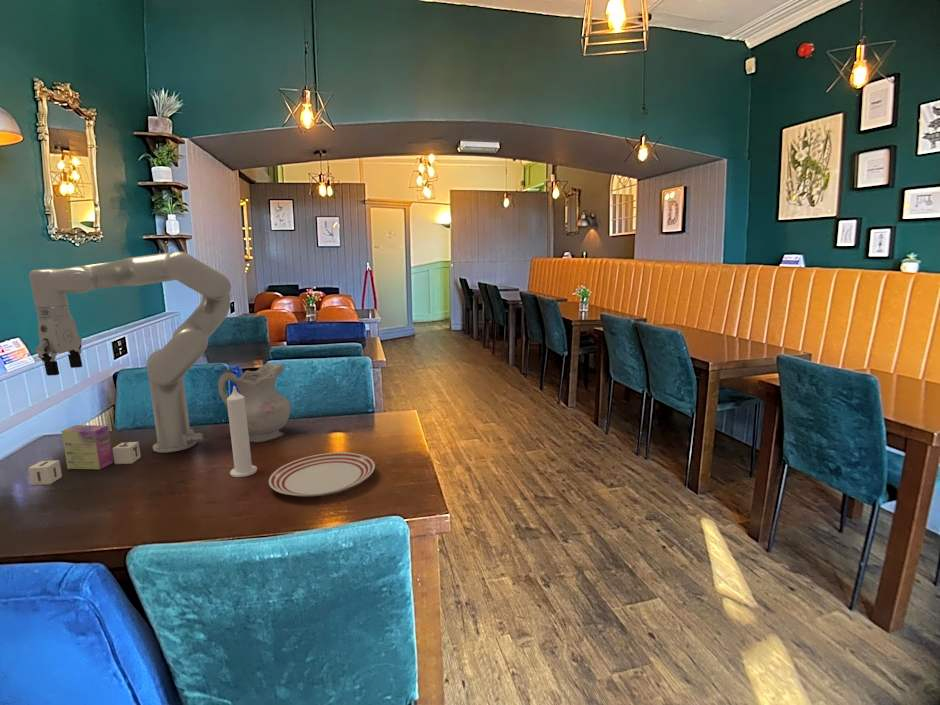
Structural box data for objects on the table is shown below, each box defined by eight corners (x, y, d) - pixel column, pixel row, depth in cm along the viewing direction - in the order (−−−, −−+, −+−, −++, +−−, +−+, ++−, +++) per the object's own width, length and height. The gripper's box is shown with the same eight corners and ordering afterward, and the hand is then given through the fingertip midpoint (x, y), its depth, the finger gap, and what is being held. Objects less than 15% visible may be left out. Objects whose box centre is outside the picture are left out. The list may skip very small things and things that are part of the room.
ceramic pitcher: (248, 455, 172) (244, 378, 166) (210, 441, 182) (205, 367, 176) (303, 435, 190) (301, 364, 184) (265, 423, 200) (262, 355, 194)
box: (114, 462, 167) (108, 424, 164) (100, 470, 161) (93, 431, 159) (82, 462, 168) (76, 424, 165) (67, 469, 162) (60, 430, 160)
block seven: (141, 457, 170) (139, 441, 169) (132, 463, 165) (130, 447, 164) (124, 458, 170) (121, 442, 169) (114, 464, 165) (112, 447, 164)
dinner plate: (278, 515, 130) (277, 502, 130) (262, 475, 154) (261, 463, 154) (389, 489, 143) (389, 477, 142) (359, 455, 167) (358, 445, 166)
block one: (62, 477, 157) (59, 459, 156) (50, 484, 152) (47, 466, 151) (43, 477, 157) (40, 460, 156) (30, 485, 151) (27, 467, 150)
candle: (262, 468, 158) (253, 383, 154) (245, 478, 152) (235, 390, 147) (242, 466, 161) (233, 382, 156) (224, 475, 154) (214, 388, 149)
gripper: (44, 316, 149) (57, 377, 153) (86, 308, 166) (97, 363, 170) (16, 317, 149) (29, 379, 153) (61, 309, 166) (72, 365, 170)
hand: (65, 371), depth 161 cm, fingers open, 9 cm apart
